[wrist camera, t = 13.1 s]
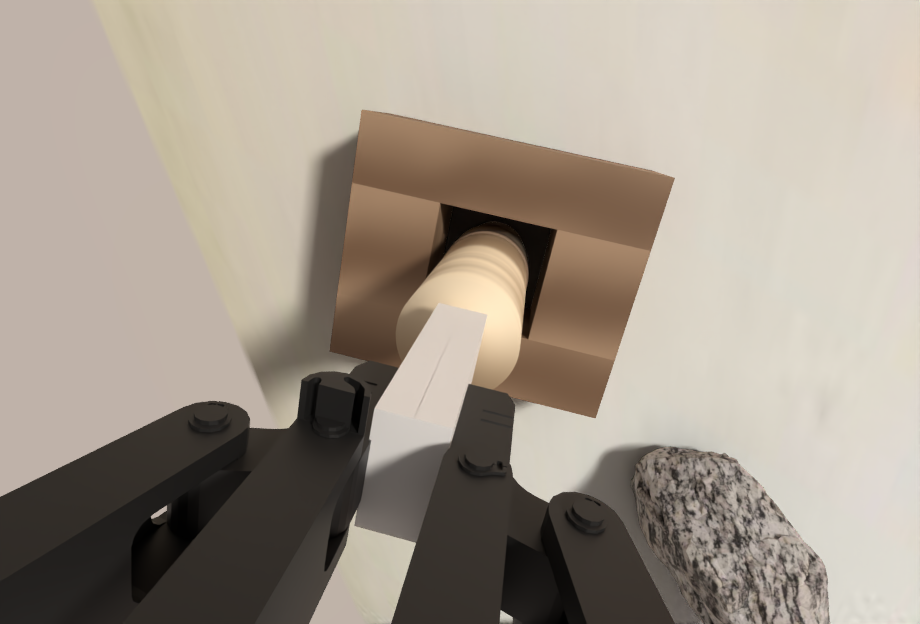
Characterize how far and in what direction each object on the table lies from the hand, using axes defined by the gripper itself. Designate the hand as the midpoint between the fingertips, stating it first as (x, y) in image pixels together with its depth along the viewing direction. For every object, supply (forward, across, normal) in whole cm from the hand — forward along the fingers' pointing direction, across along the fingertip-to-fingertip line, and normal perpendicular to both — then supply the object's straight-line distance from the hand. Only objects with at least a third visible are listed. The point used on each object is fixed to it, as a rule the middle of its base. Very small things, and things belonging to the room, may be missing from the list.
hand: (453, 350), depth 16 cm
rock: (+15, +17, -14) cm, 27 cm away
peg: (+15, 0, 0) cm, 15 cm away
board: (+15, 0, 0) cm, 15 cm away
